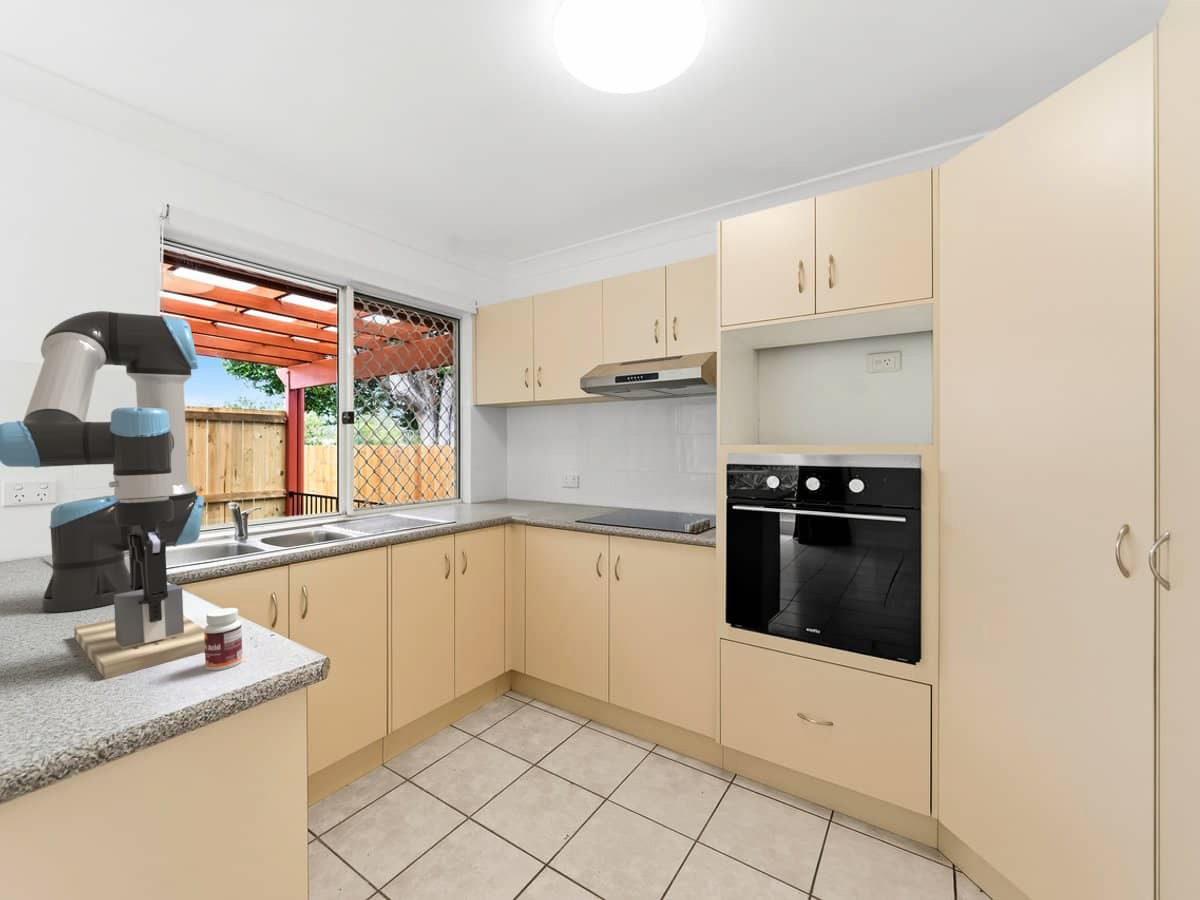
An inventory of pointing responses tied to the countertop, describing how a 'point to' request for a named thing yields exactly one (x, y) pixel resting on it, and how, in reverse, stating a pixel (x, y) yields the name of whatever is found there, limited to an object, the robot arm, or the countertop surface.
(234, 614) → the pill bottle
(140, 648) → the board
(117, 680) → the countertop surface
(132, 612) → the block
